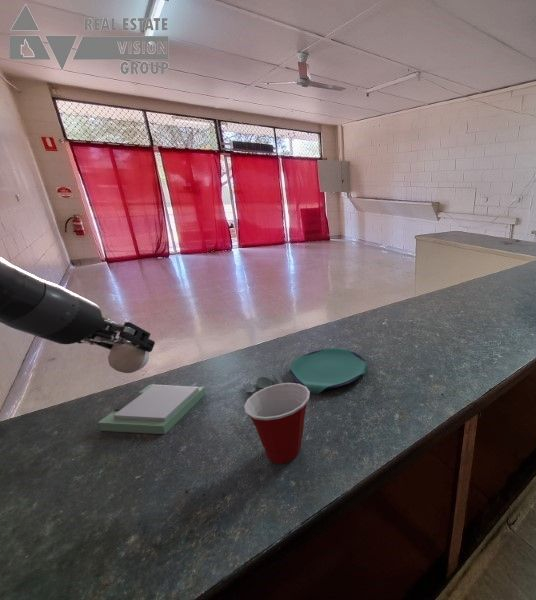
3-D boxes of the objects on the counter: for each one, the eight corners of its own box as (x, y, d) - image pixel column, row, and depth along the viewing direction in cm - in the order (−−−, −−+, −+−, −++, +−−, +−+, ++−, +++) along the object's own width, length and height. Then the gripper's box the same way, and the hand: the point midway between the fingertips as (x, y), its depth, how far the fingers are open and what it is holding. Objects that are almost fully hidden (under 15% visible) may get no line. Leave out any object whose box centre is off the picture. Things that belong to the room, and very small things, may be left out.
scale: (100, 430, 62) (96, 419, 61) (151, 391, 74) (148, 381, 74) (165, 434, 62) (162, 422, 61) (205, 394, 74) (203, 384, 73)
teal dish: (380, 376, 84) (381, 368, 83) (264, 424, 65) (263, 415, 65) (342, 348, 98) (342, 341, 97) (238, 380, 80) (237, 373, 79)
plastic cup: (296, 422, 66) (292, 373, 62) (324, 452, 59) (321, 398, 55) (242, 449, 59) (234, 395, 55) (267, 487, 52) (258, 427, 48)
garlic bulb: (159, 360, 66) (151, 325, 63) (140, 377, 60) (130, 339, 57) (123, 362, 65) (113, 326, 62) (101, 379, 59) (89, 341, 56)
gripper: (108, 291, 49) (176, 330, 64) (18, 287, 49) (107, 326, 64) (84, 337, 46) (162, 366, 61) (-12, 332, 46) (89, 363, 61)
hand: (133, 346), depth 62 cm, fingers closed on garlic bulb, 6 cm apart
